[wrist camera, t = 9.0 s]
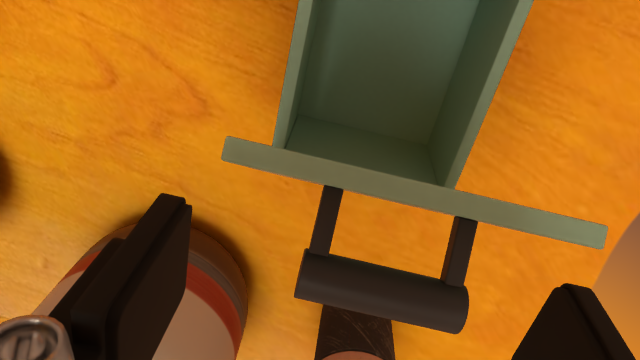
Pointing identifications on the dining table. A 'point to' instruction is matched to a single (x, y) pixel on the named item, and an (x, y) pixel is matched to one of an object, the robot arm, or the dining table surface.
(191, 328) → the vase
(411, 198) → the cool box lid
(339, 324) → the travel mug
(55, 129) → the dining table surface
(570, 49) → the dining table surface
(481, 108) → the cool box
